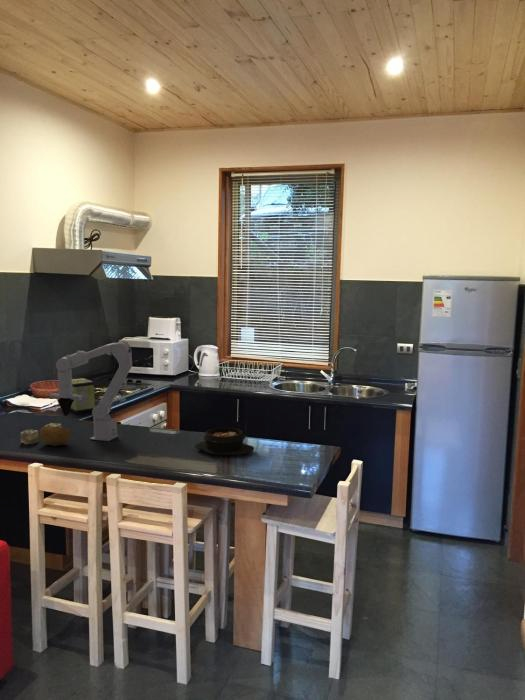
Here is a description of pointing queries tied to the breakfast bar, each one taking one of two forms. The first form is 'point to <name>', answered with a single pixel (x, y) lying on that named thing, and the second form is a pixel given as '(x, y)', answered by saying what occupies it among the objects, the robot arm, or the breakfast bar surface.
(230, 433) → the casserole
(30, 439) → the pip block four
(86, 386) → the protein box
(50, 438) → the potato
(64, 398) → the robot arm
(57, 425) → the pip block two
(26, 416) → the breakfast bar surface
